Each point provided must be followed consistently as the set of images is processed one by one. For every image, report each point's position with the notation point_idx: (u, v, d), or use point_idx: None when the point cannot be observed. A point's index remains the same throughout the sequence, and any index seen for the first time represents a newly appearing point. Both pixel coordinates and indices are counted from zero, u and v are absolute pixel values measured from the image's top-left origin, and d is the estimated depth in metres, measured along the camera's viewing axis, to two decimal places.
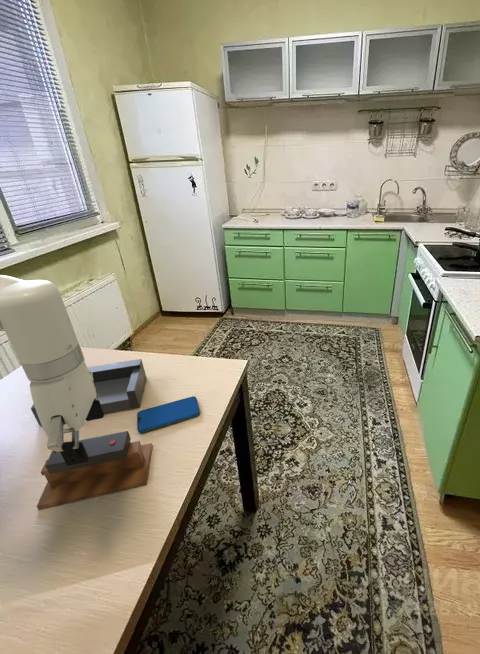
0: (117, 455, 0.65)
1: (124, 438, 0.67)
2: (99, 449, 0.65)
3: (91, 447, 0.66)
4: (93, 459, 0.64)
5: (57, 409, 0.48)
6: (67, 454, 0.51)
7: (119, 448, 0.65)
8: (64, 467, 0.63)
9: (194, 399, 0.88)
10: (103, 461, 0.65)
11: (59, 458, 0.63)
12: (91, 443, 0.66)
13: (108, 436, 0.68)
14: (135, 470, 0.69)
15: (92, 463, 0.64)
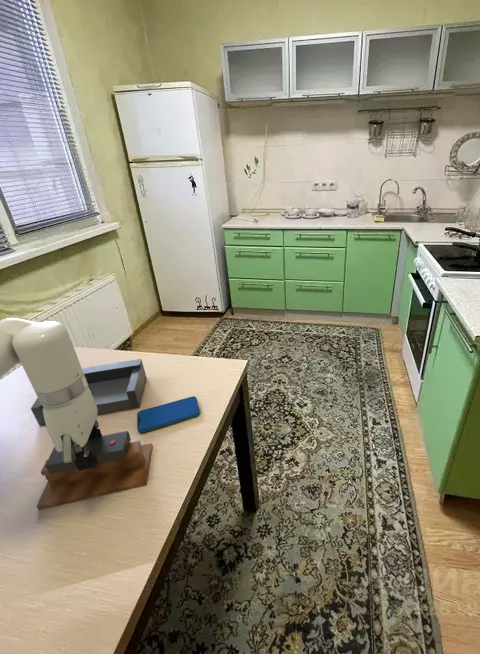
0: (117, 455, 0.65)
1: (124, 438, 0.67)
2: (99, 449, 0.65)
3: (91, 447, 0.66)
4: None
5: (65, 429, 0.57)
6: (79, 461, 0.62)
7: (119, 448, 0.65)
8: (64, 467, 0.63)
9: (194, 399, 0.88)
10: (103, 461, 0.65)
11: (59, 458, 0.63)
12: (91, 443, 0.66)
13: (108, 436, 0.68)
14: (135, 470, 0.69)
15: None
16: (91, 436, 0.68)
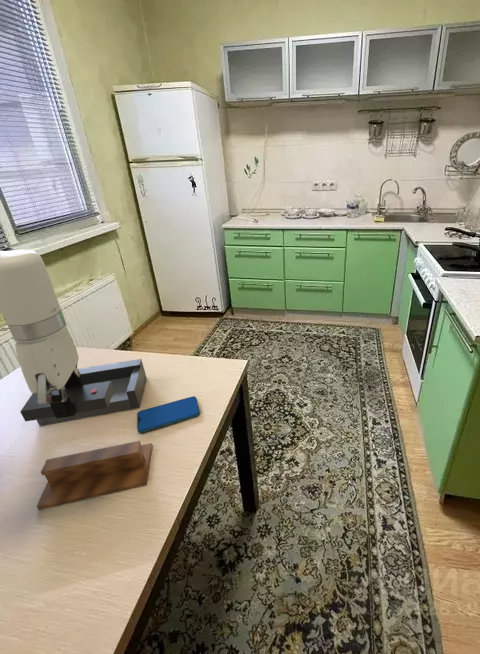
0: (97, 404, 0.61)
1: (106, 387, 0.64)
2: (79, 397, 0.61)
3: (71, 395, 0.62)
4: None
5: (40, 367, 0.53)
6: (57, 407, 0.58)
7: (100, 397, 0.61)
8: (41, 414, 0.59)
9: (194, 399, 0.88)
10: (83, 410, 0.61)
11: (35, 405, 0.60)
12: (71, 392, 0.62)
13: (89, 386, 0.64)
14: (135, 470, 0.69)
15: None
16: (71, 385, 0.64)
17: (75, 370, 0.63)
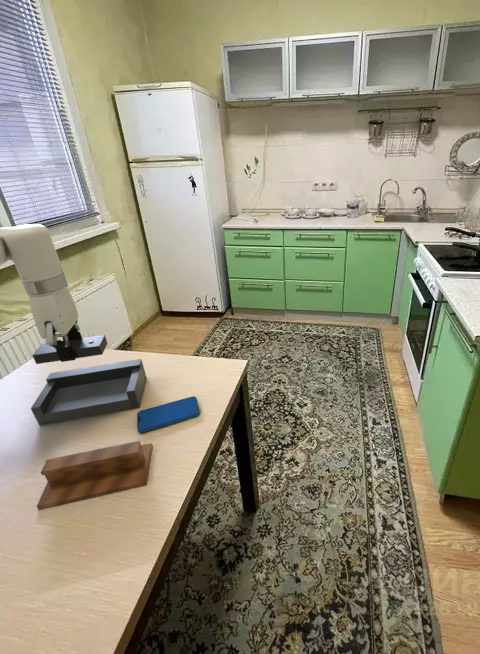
0: (94, 351, 0.76)
1: (101, 339, 0.78)
2: (79, 345, 0.76)
3: (72, 344, 0.77)
4: None
5: (48, 316, 0.68)
6: (61, 351, 0.73)
7: (96, 345, 0.76)
8: (48, 358, 0.74)
9: (194, 399, 0.88)
10: (82, 356, 0.76)
11: (44, 351, 0.74)
12: (72, 342, 0.77)
13: (87, 338, 0.79)
14: (135, 470, 0.69)
15: None
16: (72, 337, 0.79)
17: (75, 325, 0.78)
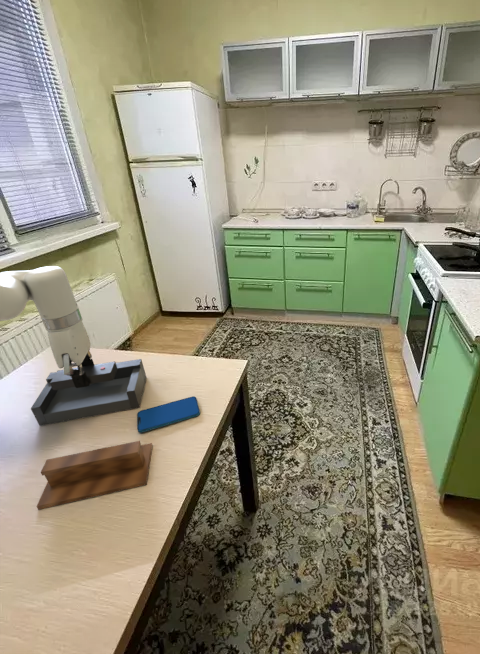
0: (106, 377, 0.83)
1: (112, 365, 0.85)
2: (92, 372, 0.83)
3: (86, 371, 0.84)
4: None
5: (65, 349, 0.75)
6: (76, 379, 0.80)
7: (107, 372, 0.83)
8: (64, 385, 0.81)
9: (194, 399, 0.88)
10: (95, 382, 0.83)
11: (60, 378, 0.81)
12: (86, 369, 0.84)
13: (99, 364, 0.86)
14: (135, 470, 0.69)
15: None
16: (85, 364, 0.85)
17: (88, 353, 0.85)
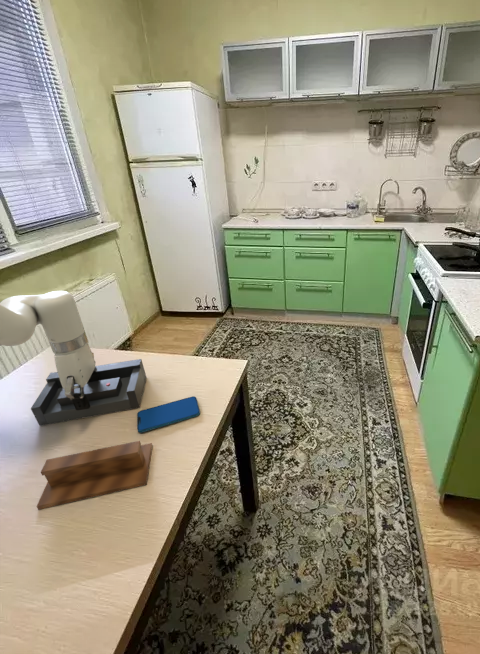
0: (111, 393, 0.85)
1: (117, 381, 0.88)
2: (97, 388, 0.85)
3: (91, 387, 0.86)
4: (93, 395, 0.84)
5: (70, 371, 0.77)
6: (77, 402, 0.80)
7: (113, 388, 0.85)
8: (71, 401, 0.83)
9: (194, 399, 0.88)
10: (101, 398, 0.85)
11: None
12: (92, 385, 0.87)
13: (104, 380, 0.88)
14: (135, 470, 0.69)
15: (92, 399, 0.85)
16: (91, 378, 0.88)
17: None
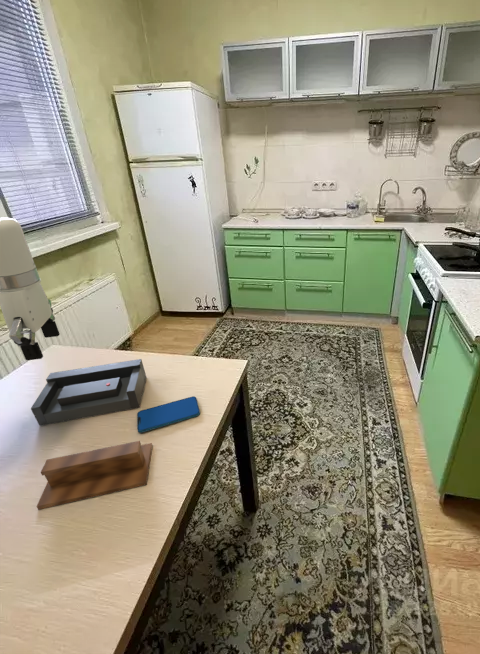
0: (111, 393, 0.85)
1: (117, 381, 0.88)
2: (97, 388, 0.85)
3: (91, 387, 0.86)
4: (93, 395, 0.84)
5: (18, 312, 0.66)
6: (26, 349, 0.69)
7: (113, 388, 0.85)
8: (71, 401, 0.83)
9: (194, 399, 0.88)
10: (101, 398, 0.85)
11: (67, 394, 0.84)
12: (92, 385, 0.87)
13: (104, 380, 0.88)
14: (135, 470, 0.69)
15: (92, 399, 0.85)
16: (47, 327, 0.78)
17: (50, 314, 0.78)
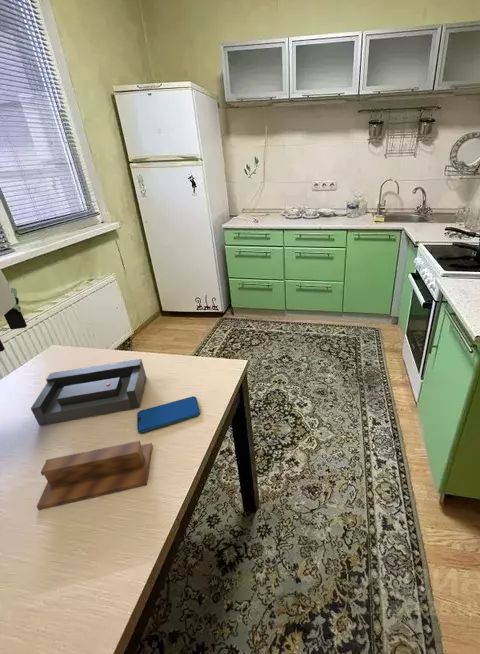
0: (111, 393, 0.85)
1: (117, 381, 0.88)
2: (97, 388, 0.85)
3: (91, 387, 0.86)
4: (93, 395, 0.84)
5: None
6: None
7: (113, 388, 0.85)
8: (71, 401, 0.83)
9: (194, 399, 0.88)
10: (101, 398, 0.85)
11: (67, 394, 0.84)
12: (92, 385, 0.87)
13: (104, 380, 0.88)
14: (135, 470, 0.69)
15: (92, 399, 0.85)
16: (12, 318, 0.73)
17: (15, 304, 0.72)
